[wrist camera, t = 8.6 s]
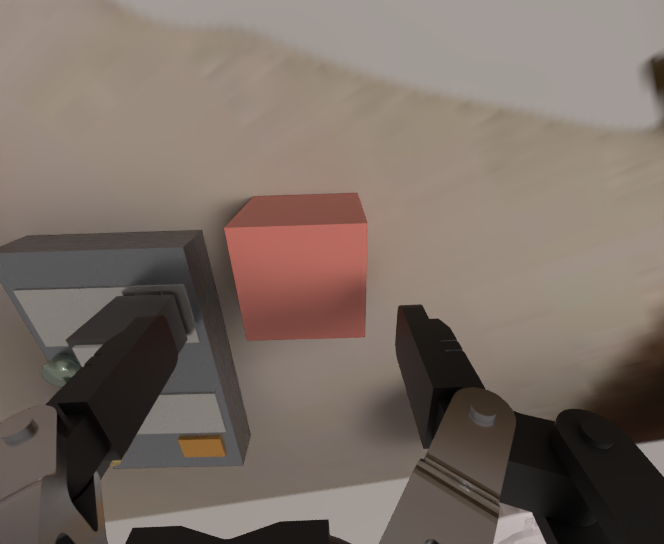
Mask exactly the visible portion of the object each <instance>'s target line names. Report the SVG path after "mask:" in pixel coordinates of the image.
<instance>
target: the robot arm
mask: <svg viewBox="0 0 664 544" xmlns="http://www.w3.org/2000/svg"><path fill="white" fill-rule="evenodd" d="M395 346H396V355H397V360H398V363H399V367H400V370H401V374H402V377H403V380H404V384H405V387H406V391H407V394H408V397H409V401H410V404H411V408H412V411H413V415H414V418H415V421H416V425H417V428H418V432H419V435H420V438H421V442H422V445H423V449H428V448H429V450H428V452H427V454H426V456H425V458H424V459H420V460H419V461H418V463H417V465H416V467H415V468H414V470H413V473H412V475H411V477H410V479H409V481H408V483H407V485H406V487H405V490H404V492H403V494H402V496H401V498H400V500H399V502H398V504H397V506H396V509H395V511H394V513H393V515H392V517H391V519H390V521H389V523H388V525H387V528H386V530H385V532H384V534H383V536H382V538H381V540H380V542H379V544H493V542H494V537H495V533H496V528H497V523H498V518H499V512H500V505H499V502H500V503H503V504H506V505H509V506H513V507H516V508H519V509H522V510H526V511H529V512H532V514H533V516H534V518H535V521H536V523H537V525H538V527H539V529H540V531H541V534H542V536H543V538H544V540H545V542H546V544H664V477H663V476H662V474H661V473H660V472H659V471H658V470H657V469H656V468H655V466H653V464H652V463H651V462H650V461H649V460H648V458H647V457H646V456H645V455H644V454H643V453H642V451H641V450H640V449H639V448H638V447H637V446H636V444H635V443H634V442H633V441H632V440H631V439H630V438H629V436H628V435H627V434H626V433H625V432H624V431H622V430H621V429H620V428H619V427H618V426H616V425H615V424H614V423H612V422H611V421H609V420H607V419H606V418H604V417H602V416H600V415H597V414H595V413H592V412H589V411H586V410H581V409H568V410H564V411H562V412H561V413H560V414H559V415H558V416H557V418H556V421H550V420H546V419H542V418H537V417H533V416H528V415H524V414H521V413H518V412H515V411H513V410H512V408H511V407H510V406H509V405H508V403H507V402H506V401H505V400H503V399H502V398H501V397H500V396H498V395H496V394H495V393H493V392H491V391H488V390H486V389H485V387H484V386H483V384H482V382H481V380H480V379H479V377H478V375H477V373H476V372H475V370H474V368H473V367H472V365H471V363H470V361H469V360H468V358H467V356H466V354H465V353H464V351H462V348H461V346H460V344H459V342H457V339H456V337H455V335H454V334H453V332H452V330H451V329H450V328H449V327H448V326H447V325H446V324H444V323H443V322H442V321H441V320H439V319H429V318H428V316H427V314H426V312H425V310H424V308H423V306H422V305H400V306H399V307H398V313H397V327H396V340H395ZM177 361H178V350H177V347H176V344H175V341H174V339H173V336H172V333H171V330H170V327H169V324H168V321H167V319H166V318H165V316H163V315H150V316H138V317H136V318H135V319H134V320H133V321H132V322H131V323H130V324H129V325H128V326H127V328H126V329H125V330H124V331H121V332H120V333H118V334H117V335H115V336H114V337H112V338H111V339H109V340H108V341H106V342H105V343H104V344H103V345H102V346H101V347H100V348H99V349H98V350H97V351H96V352H95V353H94V356H92V357H91V358H90V359H89V360H88V361H87V362H86V363H85V364H84V367H81V368H80V369H79V370H78V371H77V372H76V373H75V374H74V375H73V377H72V378H71V379H70V380H69V381H68V382H67V383H66V384H65V385H64V386H63V387H62V388H61V389H60V390H59V391H58V392H57V393H56V394H55V395H54V396H53V397H52V399H51V400H50V401H49V402H48V403H47V404H46V405H43V406H36V407H32V408H28V409H26V410H23V411H21V412H19V413H16V414H15V415H13V416H11V417H9V418H7V419H6V420H4V421H3V422H1V423H0V544H108V542H107V537H106V530H105V520H104V511H103V501H102V492H101V483H100V476H99V474H98V472H97V471H96V470H97V469H98V467H99V465H100V464H101V462H102V461H116V460H122V458H123V457H124V455H125V453H126V451H127V450H128V448H129V446H130V445H131V443H132V441H133V439H134V438H135V436H136V434H137V433H138V431H139V429H140V427H141V426H142V424H143V422H144V421H145V419H146V417H147V415H148V414H149V412H150V410H151V409H152V407H153V405H154V404H155V402H156V400H157V398H158V397H159V395H160V393H161V392H162V390H163V388H164V386H165V385H166V383H167V381H168V380H169V378H170V376H171V374H172V373H173V371H174V369H175V367H176V365H177ZM126 544H350V543H348V542H346V541H344V540H342V539H340V538H336V537H334V536H331V535H330V533H329V522H328V520H308V521H284V522H278V523H275V524H272V525H269V526H266V527H264V528H261V529H258V530H255V531H252V532H249V533H246V534H243V535H241V536H238V537H235V538H232V539H221V538H218V537H215V536H211V535H208V534H205V533H201V532H199V531H195V530H192V529H189V528H186V527H183V526H168V527H144V528H132V531H131V533H130V535H129V537H128V539H127V541H126Z"/></svg>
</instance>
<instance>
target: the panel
mask: <svg viewBox="0 0 664 544" xmlns="http://www.w3.org/2000/svg"><path fill="white" fill-rule="evenodd" d="M0 282H1V284H2V285H3V287H4V289H5V290H6V292H7V294H8V295H9V297H10V299H11V300H12V302H13V304H14V305H15V307H16V309H17V310H18V312H19V314H20V315H21V317H22V319H23V320H24V322H25V324H26V325H27V327H28V328H29V330H30V332H31V333H32V335H33V337H34V338H35V340H36V342H37V343H38V345H39V347H40V348H41V350H42V352H43V353H44V355H45V357H46V358H47V360H48V362H47V363H46V364H45V365H44V366H43V367H42V368H41V370H40V372H41V375H42V377H43V378H44V379H45V380H46V381H47V382H49V383H51V384H53V385H55V386H60V387H63V386H64V385H65V384H66V383H67V382H68V381H69V380H70V379H71V378H72V377H73V375H74V374H75V373H76V372H77V371H78V370H79V369H80V368H81V367H80V365H79V364H78V362H77V360H76V358H75V356H74V355H73V353H72V351H71V349H70V347H69V345H68V344H67V342H66V339H67V338H68V337H69V336H71V335H72V334H73V333H74V332H75V331H76V330H78V329H79V328H80V327H81V326H82V325H83V324H85V323H86V322H87V321H88V320H89V319H90V318H92V317H93V316H94V315H95V314H96V313H97V312H99V311H100V310H101V309H102V308H103V307H105V306H106V305H107V304H108V303H109V302H110V301H112V300H113V299H114V298H115V297H116V296H136V295H170V294H174V297H175V300H176V304H177V307H178V310H179V313H180V316H181V320H182V323H183V326H184V329H185V332H186V335H187V339H188V340H187V342H186V343H185V345H184V346H183V348H182V350H181V351H180V353H179V354H178V361H177V365H176V367H175V369H174V371H173V373H172V374H171V376H170V378H169V380H168V381H167V383H166V385H165V386H164V388H163V390H162V392H161V393H160V395H159V397H158V398H157V400H156V402H155V404H154V405H153V407H152V409H151V410H150V412H149V414H148V415H147V417H146V419H145V421H144V422H143V424H142V426H141V427H140V429H139V431H138V433H137V434H136V436H135V438H134V439H133V441H132V443H131V445H130V446H129V448H128V450H127V451H126V453H125V455H124V457H123V458H122V460H116V461H112V462H111V464H110V466H112V467H113V469H118V468H162V467H207V466H243V464H244V460H245V456H246V452H247V448H248V444H249V440H250V436H251V434H250V430H249V426H248V422H247V417H246V413H245V409H244V405H243V401H242V396H241V392H240V388H239V384H238V380H237V376H236V371H235V367H234V363H233V359H232V355H231V350H230V346H229V342H228V338H227V334H226V330H225V325H224V321H223V317H222V313H221V309H220V304H219V300H218V296H217V292H216V288H215V284H214V279H213V275H212V271H211V267H210V263H209V258H208V254H207V250H206V246H205V242H204V238H203V233H202V230H193V231H162V232H131V233H100V234H69V235H38V236H26V237H23V238H21V239H18V240H16V241H13V242H11V243H8V244H6V245H3V246H1V247H0Z"/></svg>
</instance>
